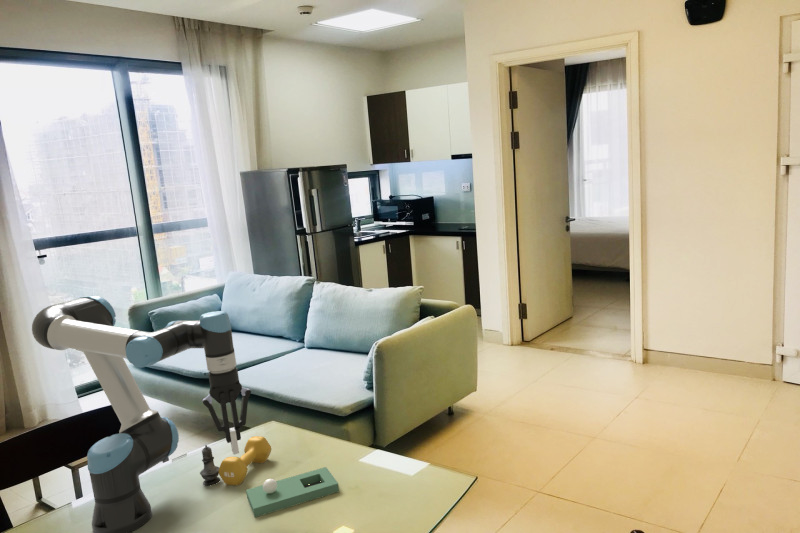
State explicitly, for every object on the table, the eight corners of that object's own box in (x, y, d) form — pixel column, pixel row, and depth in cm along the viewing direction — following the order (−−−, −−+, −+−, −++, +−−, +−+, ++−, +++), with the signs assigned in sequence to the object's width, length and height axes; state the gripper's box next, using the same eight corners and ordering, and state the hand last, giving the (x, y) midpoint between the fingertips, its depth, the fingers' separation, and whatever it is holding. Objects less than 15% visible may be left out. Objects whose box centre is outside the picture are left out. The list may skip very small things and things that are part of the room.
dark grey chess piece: (202, 488, 186) (196, 450, 184) (200, 480, 191) (194, 443, 190) (222, 482, 188) (217, 445, 186) (220, 475, 194) (214, 438, 192)
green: (254, 517, 166) (253, 508, 166) (247, 497, 177) (245, 489, 177) (339, 491, 175) (338, 483, 175) (327, 474, 186) (326, 466, 186)
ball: (265, 497, 171) (263, 484, 170) (262, 491, 175) (260, 478, 174) (279, 493, 173) (277, 480, 172) (276, 487, 176) (274, 474, 176)
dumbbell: (243, 488, 184) (239, 462, 182) (217, 486, 187) (213, 461, 185) (275, 458, 201) (272, 435, 200) (251, 457, 204) (247, 434, 203)
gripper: (198, 378, 159) (212, 464, 163) (249, 367, 164) (262, 450, 167) (195, 371, 166) (209, 453, 169) (244, 360, 171) (256, 441, 174)
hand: (235, 452), depth 168 cm, fingers closed
